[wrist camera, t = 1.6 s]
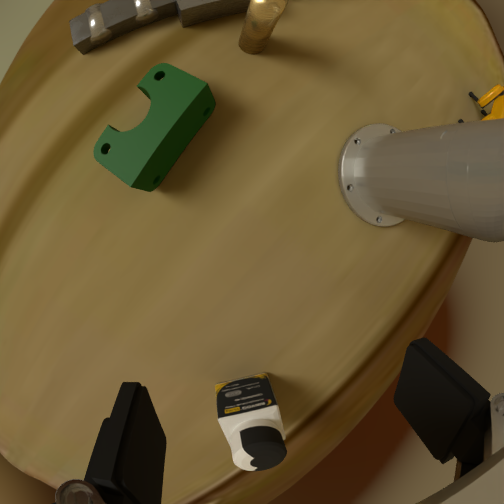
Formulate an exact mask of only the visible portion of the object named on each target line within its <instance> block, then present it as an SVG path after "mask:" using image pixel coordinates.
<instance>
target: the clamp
mask: <svg viewBox="0 0 504 504" xmlns="http://www.w3.org/2000/svg"><path fill="white" fill-rule="evenodd" d="M162 78H163V79H162ZM161 79H162V80H161ZM137 87H138V88H139V89H140V90H141V91H142V92H143V93H144V94H145V95H146V96H147V97H148V98H149V99H150V100H151V106H150V110H149V112H148V114H147V116H146V118H145V119H144V120H143V121H142V123H141V124H139V125H138V126H137V127H135V128H134V129H132V130H129V131H126V132H120V131H118V130H117V129H115V128H113V127H111V126H110V125H108V126H107V127H106V129H105V130H104V132H103V133H102V135H101V136H100V138H99V139H98V141H97V142H96V144H95V147H94V157H95V159H96V161H97V162H99V163H100V164H101V165H103V166H104V167H105V168H106V169H108V170H109V171H110V172H112V173H113V174H114V175H116V176H117V177H118V178H119V179H121V180H122V181H123V182H125V183H126V184H127V185H129V186H130V187H132V188H136V189H140V190H144V191H148V192H151V191H153V190H155V189H156V188H157V187H158V186H159V185H160V183H161V182H162V180H163V179H164V177H165V176H166V174H167V173H168V172H169V170H170V169H171V167H172V166H173V164H174V163H175V162H176V160H177V159H178V157H179V156H180V155H181V153H182V152H183V150H184V149H185V148H186V146H187V145H188V144H189V142H190V141H191V140H192V138H193V137H194V136H195V134H196V133H197V132H198V130H199V129H200V128H201V127H202V125H203V124H204V123H205V121H206V120H207V119H208V118H209V116H210V115H211V114H212V112H213V110H214V108H215V104H216V103H215V100H214V97H213V95H212V93H211V91H210V88H209V86H208V84H207V83H206V82H204V81H202V80H200V79H198V78H196V77H194V76H192V75H190V74H188V73H186V72H184V71H182V70H180V69H178V68H176V67H174V66H172V65H170V64H167V63H161V64H158V65H156V66H154V67H153V68H152V69H150V71H149V72H148V73H147V74H146V75H145V77H144V78H143V79H142V80H141V81H140V83H139V84H138V85H137ZM110 148H111V149H110ZM109 149H110V151H109V153H108V150H109Z"/></svg>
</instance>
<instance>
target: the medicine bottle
mask: <svg viewBox="0 0 504 504" xmlns="http://www.w3.org/2000/svg"><path fill="white" fill-rule="evenodd" d="M215 390H216V402H217V413H218V421H219V423H220V425H221V428H222V430H223V432H224V434H225V436H226V438H227V440H228V443H229V445H230V447H231V450H232V456H233V462H234V463H235V465H236V466H238V467H240V468H241V469H244V470H248V471H262V470H266V469H270V468H272V467H274V466H276V465H278V464H279V463H281V462H282V461H283V459H284V458H285V456H286V454H287V450H286V447H285V444H284V441H283V440H285V438H286V436H285V432H284V428H283V423H282V419H281V415H280V410H279V406H278V403H277V400H276V398H275V395H274V392H273V389H272V386H271V383H270V380H269V377H268V374H267V373H261V374H257V375H253V376H249V377H245V378H241V379H237V380H232V381H228V382H223V383H219V384H216V385H215Z"/></svg>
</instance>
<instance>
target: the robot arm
mask: <svg viewBox="0 0 504 504" xmlns="http://www.w3.org/2000/svg"><path fill="white" fill-rule="evenodd" d="M354 141H355V142H356V143H355V142H354ZM338 174H339V183H340V187H341V191H342V194H343V196H344V199H345V201H346V203H347V204H348V206H349V207H350V209H351V210H352V211H353V212H354V213H355V214H356V215H357V216H358V217H359V218H361V219H362V220H364V221H365V222H368V223H370V224H373V225H376V226H386V227H387V226H393V225H396V224H398V223H400V222H402V221H404V220H405V219H406V220H410V221H414V222H418V223H422V224H426V225H430V226H433V227H437V228H441V229H444V230H448V231H451V232H455V233H458V234H462V235H465V236H469V237H472V238H477V239H480V240H483V241H488V242H501V241H504V118H501V119H492V120H482V121H473V122H465V123H456V124H449V125H441V126H434V127H428V128H421V129H415V130H409V131H403V132H402V131H400V130H399V129H397V128H395V127H393V126H390V125H387V124H380V123H379V124H371V125H368V126H364V127H362V128H360V129H359V130H357V131H356V132H355V133H353V134H352V135H351V136H350V138H349V139H348V140H347V142H346V143H345V145H344V147H343V149H342V152H341V156H340V160H339V169H338ZM347 186H348V189H347ZM376 218H377V219H376ZM489 397H490V393H489V392H487V391H486V390H485V389H484V388H483V387H482V386H481V385H480V384H479V383H477V382H476V381H475V380H474V379H473V378H472V377H471V376H470V375H469V374H467V373H466V372H465V371H464V370H463V369H462V368H461V367H459V366H458V365H457V364H456V363H455V362H454V361H453V360H451V359H450V358H449V357H448V356H447V355H445V353H443V352H442V351H441V350H440V349H439V348H438V347H436V346H435V345H434V344H433V343H431V342H430V341H429V340H428V339H427V338H420V339H417V340H414V341H412V342H411V343H410V345H409V346H408V347H407V350H406V354H405V358H404V362H403V366H402V370H401V374H400V377H399V381H398V385H397V388H396V391H395V395H394V403H395V405H396V407H397V408H398V409H399V411H401V413H402V415H403V416H404V417H405V418H406V420H407V421H408V422H409V424H410V425H411V426H412V428H413V429H414V431H415V432H416V433H417V435H418V436H419V437H420V439H421V440H422V442H423V443H424V444H425V445H426V447H427V448H428V450H429V451H430V453H431V454H432V455H433V457H434V458H435V459H437V460H440V462H441V463H442V464H444V463H446V462H447V461H449V460H450V459H452V458H453V457H454V456H455V457H456V458H457V464H456V471H455V477H454V482H453V483H451V484H450V485H448V486H447V487H445V488H443V489H442V490H440V491H438V492H437V493H435V494H433V495H431V496H429V497H428V498H426V499H424V500H422V501H420V502H418V503H416V504H504V393H501V394H497V395H495V396H494V397H493V398H492V400H491V402H490V401H489V400H488V399H489ZM165 453H166V436H165V434H164V431H163V429H162V427H161V424H160V422H159V419H158V417H157V414H156V412H155V409H154V406H153V404H152V401H151V398H150V396H149V393H148V390H147V388H146V387H145V386H141V384H140V383H139V382H123V383H122V385H121V387H120V390H119V393H118V396H117V398H116V401H115V404H114V407H113V410H112V413H111V416H110V418H105V419H104V421H103V423H102V425H101V428H100V431H99V434H98V437H97V440H96V443H95V446H94V449H93V452H92V455H91V459H90V462H89V465H88V468H87V472H86V475H85V478H84V481H83V480H79V479H73V480H69V481H66V482H65V483H63V484H61V486H60V487H59V488H58V489H57V492H56V496H55V500H56V502H55V503H53V504H161V498H162V485H163V473H164V463H165Z"/></svg>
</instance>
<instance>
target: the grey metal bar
mask: <svg viewBox="0 0 504 504" xmlns="http://www.w3.org/2000/svg"><path fill="white" fill-rule="evenodd" d="M250 1H251V0H109V1H107V2H105V3H103V4H95V5H92V6H90V7H89V8H88V9H87V10H86V11H85V13H83V14H81V15H79V16H77V17H75V18H74V19H72V20H70V21H69V22H70V28H71V34H72V39H73V45H74V46H75V47H76V48H77V49H78V50H79V51H80V52H81V53H82V54H85V53H87V52H89V51H91V50H92V49H94V48H96V47H98V46H100V45H102V44H104V43H106V42H108V41H110V40H112V39H115V38H117V37H119V36H121V35H123V34H126V33H128V32H130V31H133V30H135V29H137V28H140V27H142V26H145V25H148V24H150V23H153V22H156V21H158V20H161V19H164V18H167V17H170V16H173V15H176V14H178V17H179V19H180V22H181V24H182V27H186V26H190V25H193V24H196V23H200V22H204V21H207V20H211V19H215V18H219V17H223V16H228V15H232V14H237V13H242V12H247V11H248V7H249V4H250Z"/></svg>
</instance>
